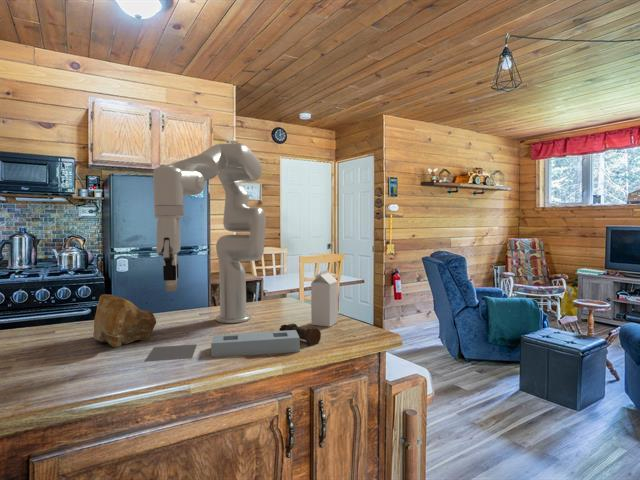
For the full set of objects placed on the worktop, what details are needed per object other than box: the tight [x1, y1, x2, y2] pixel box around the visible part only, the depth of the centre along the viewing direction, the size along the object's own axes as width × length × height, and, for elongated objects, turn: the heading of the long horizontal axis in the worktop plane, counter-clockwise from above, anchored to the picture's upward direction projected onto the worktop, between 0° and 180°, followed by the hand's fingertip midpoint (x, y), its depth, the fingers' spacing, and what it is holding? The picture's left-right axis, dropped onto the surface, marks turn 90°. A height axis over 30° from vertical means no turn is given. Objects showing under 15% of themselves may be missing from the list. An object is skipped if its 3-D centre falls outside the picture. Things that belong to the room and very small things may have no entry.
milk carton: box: [310, 269, 339, 328], centre depth 142 cm, size 7×7×19 cm
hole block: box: [210, 330, 301, 358], centre depth 114 cm, size 24×8×4 cm, turn 101°
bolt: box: [279, 323, 322, 346], centre depth 124 cm, size 6×5×15 cm
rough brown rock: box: [92, 293, 157, 349], centre depth 124 cm, size 23×17×15 cm
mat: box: [144, 344, 198, 363], centre depth 112 cm, size 12×12×1 cm
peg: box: [164, 254, 178, 292], centre depth 111 cm, size 3×3×10 cm
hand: (171, 278), depth 111 cm, fingers closed on peg, 3 cm apart
